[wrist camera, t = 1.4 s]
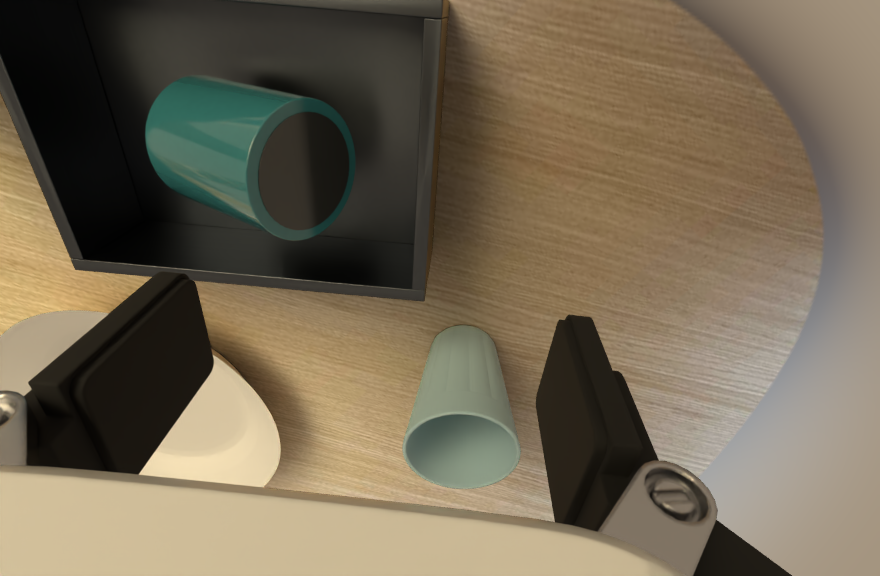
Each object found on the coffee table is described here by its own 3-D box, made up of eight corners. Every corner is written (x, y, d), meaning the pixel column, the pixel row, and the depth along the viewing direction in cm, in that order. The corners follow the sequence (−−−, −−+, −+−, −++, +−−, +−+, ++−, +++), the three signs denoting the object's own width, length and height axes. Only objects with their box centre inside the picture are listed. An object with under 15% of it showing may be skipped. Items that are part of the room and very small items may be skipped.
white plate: (333, 367, 40) (322, 397, 37) (249, 503, 52) (235, 534, 49) (34, 232, 34) (-9, 254, 31) (18, 419, 46) (-14, 448, 43)
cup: (399, 351, 38) (378, 454, 29) (458, 296, 35) (456, 393, 26) (465, 395, 41) (464, 503, 32) (526, 348, 37) (545, 452, 28)
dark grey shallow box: (64, -33, 25) (-59, -45, 19) (449, 0, 25) (443, -3, 19) (143, 224, 33) (75, 270, 27) (432, 250, 33) (424, 301, 27)
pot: (164, 216, 25) (259, 261, 21) (126, 79, 21) (234, 107, 18) (268, 185, 30) (358, 218, 26) (252, 70, 26) (355, 91, 23)
